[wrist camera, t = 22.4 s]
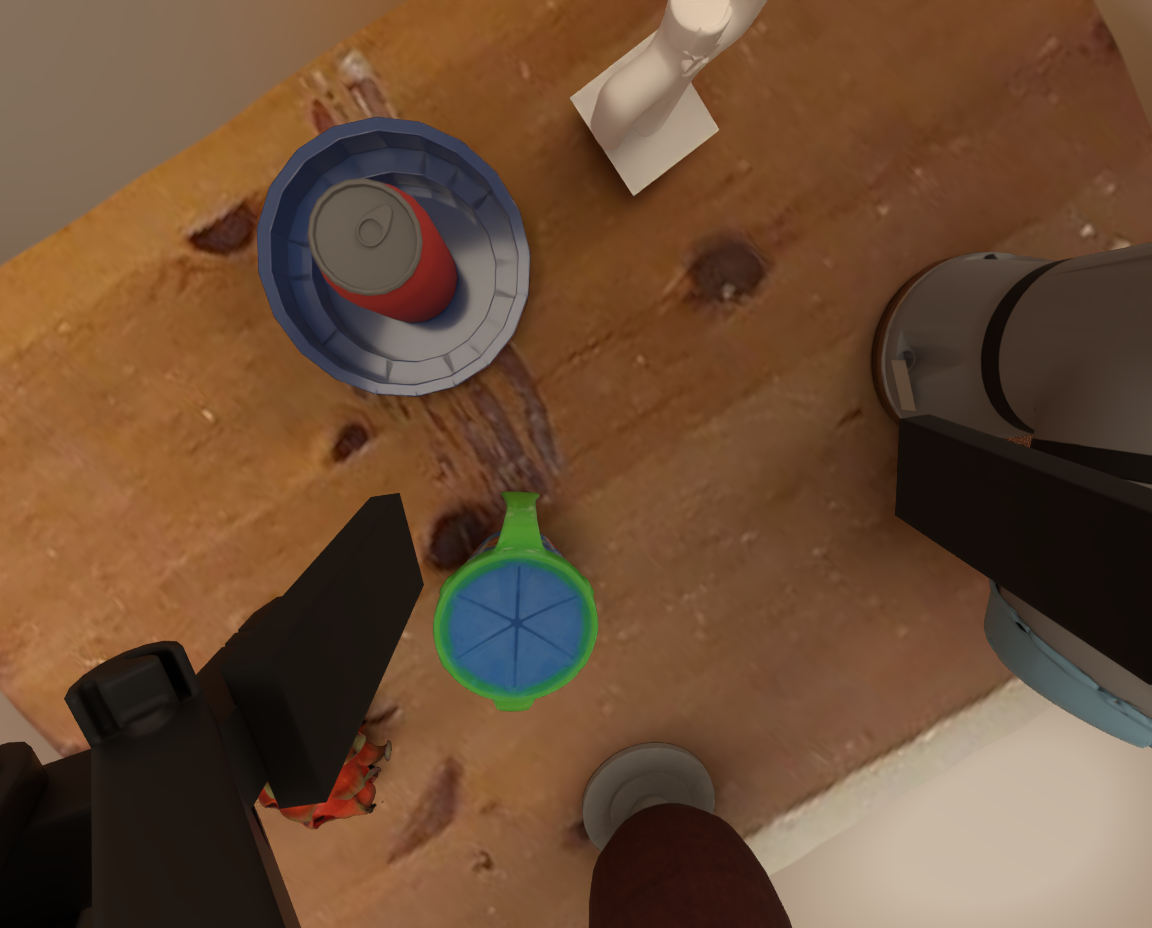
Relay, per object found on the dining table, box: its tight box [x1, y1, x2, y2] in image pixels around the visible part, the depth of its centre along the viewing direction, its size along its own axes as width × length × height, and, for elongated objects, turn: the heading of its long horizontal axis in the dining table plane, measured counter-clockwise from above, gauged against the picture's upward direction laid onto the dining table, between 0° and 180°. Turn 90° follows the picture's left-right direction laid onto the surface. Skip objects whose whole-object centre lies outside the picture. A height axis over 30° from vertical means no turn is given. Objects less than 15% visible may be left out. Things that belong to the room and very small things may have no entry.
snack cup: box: [433, 491, 598, 711], centre depth 39 cm, size 16×10×10 cm
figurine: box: [570, 0, 768, 196], centre depth 32 cm, size 7×9×15 cm
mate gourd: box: [582, 743, 792, 928], centre depth 40 cm, size 16×14×20 cm
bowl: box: [257, 117, 530, 397], centre depth 36 cm, size 17×17×6 cm
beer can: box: [307, 178, 457, 323], centre depth 33 cm, size 7×7×12 cm
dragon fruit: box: [258, 716, 392, 829], centre depth 41 cm, size 8×8×12 cm
